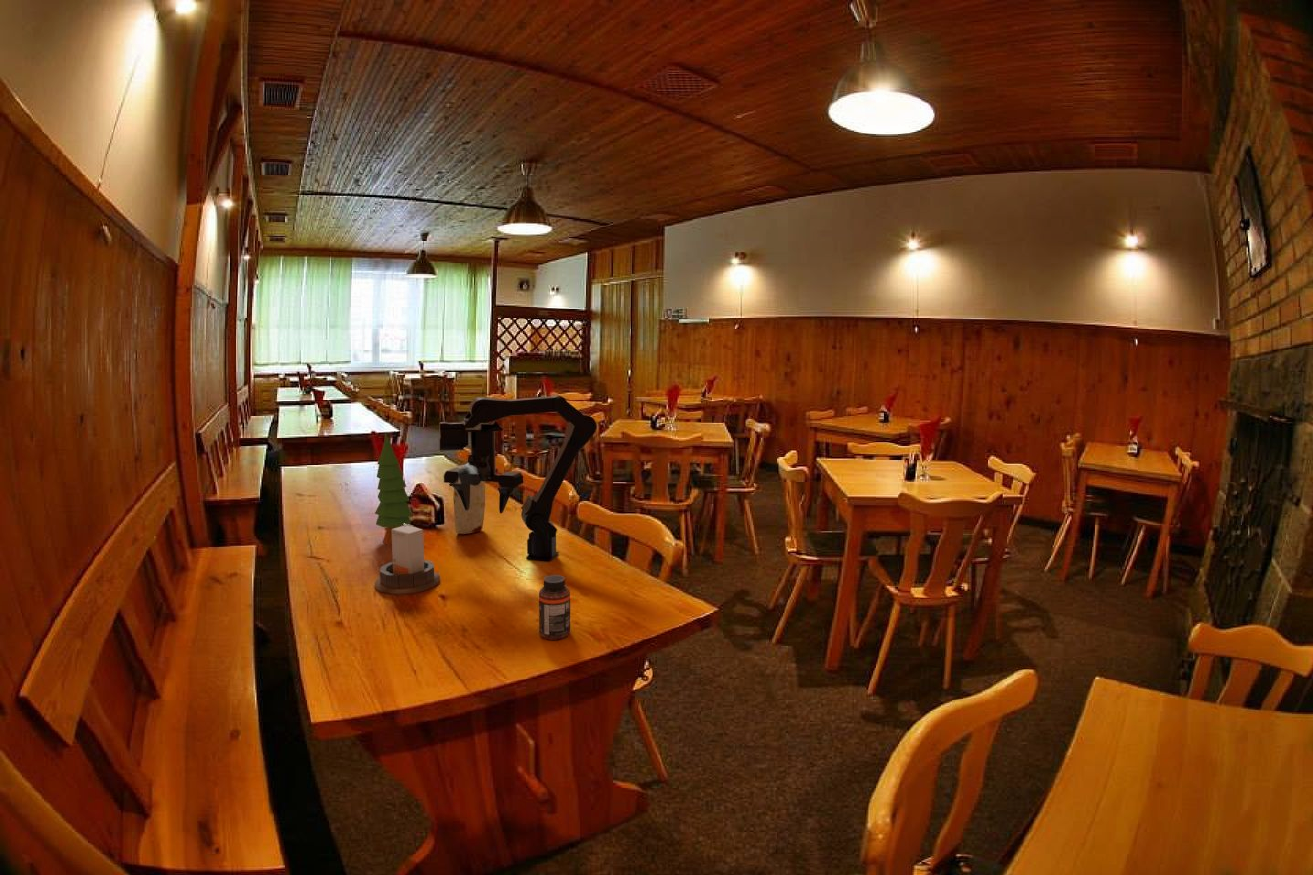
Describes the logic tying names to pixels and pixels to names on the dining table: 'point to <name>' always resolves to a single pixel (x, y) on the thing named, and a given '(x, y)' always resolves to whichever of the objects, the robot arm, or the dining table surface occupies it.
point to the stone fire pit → (406, 580)
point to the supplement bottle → (554, 608)
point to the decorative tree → (391, 493)
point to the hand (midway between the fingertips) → (484, 511)
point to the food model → (470, 510)
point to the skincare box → (407, 550)
